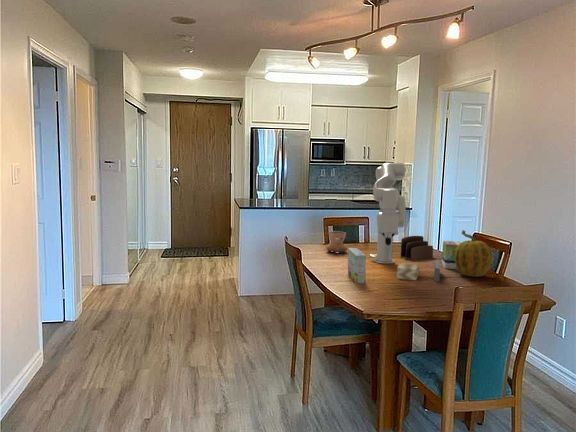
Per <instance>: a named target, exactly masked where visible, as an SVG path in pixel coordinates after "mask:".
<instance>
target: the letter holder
mask: <svg viewBox="0 0 576 432" xmlns="http://www.w3.org/2000/svg"><path fill="white" fill-rule="evenodd" d="M400 241H401V242H400V258H401V259H405V260H409V261H415V260H417V261H418V260H424V259H431V258H434V246H433V245H429V241H428V240H427V241H426V240H424V236H423V235H409V236H407V237H406V236H405V237H402V238H401V240H400Z"/></svg>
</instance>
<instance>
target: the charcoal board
mask: <svg viewBox="0 0 576 432" xmlns="http://www.w3.org/2000/svg"><path fill="white" fill-rule="evenodd" d="M440 272H441V267H440V260H437V259H436V260H434V273H433V274H434V278H433V279H434V280H433V282H438V283H439V282H440V274H441V273H440Z"/></svg>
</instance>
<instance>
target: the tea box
mask: <svg viewBox="0 0 576 432" xmlns="http://www.w3.org/2000/svg"><path fill="white" fill-rule="evenodd" d="M460 243H461V242H460V241H455V240H454V241H453V240H443V241H442V254H441V255H442V256H441V264H442V265H443V268H444V269H447V270H448V269H449V270H457V268H456V264H455V251H456V248H457V246H458V245H459V244H460Z"/></svg>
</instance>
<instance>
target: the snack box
mask: <svg viewBox="0 0 576 432" xmlns="http://www.w3.org/2000/svg"><path fill="white" fill-rule="evenodd" d="M366 258H367V256H366V254H365V253H363V252H362V251H361V250H360V249H358V248H357V247H347V274H349V275H348V276H349V277H350V278H351V279H352V280H353V282H354V283H355V284H356V285H357V284H358V285H359V284H360V285H361V284H366V279H367V278H366V274H367V273H366V268H367V267H366V266H367V264H366V261H367V259H366Z"/></svg>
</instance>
